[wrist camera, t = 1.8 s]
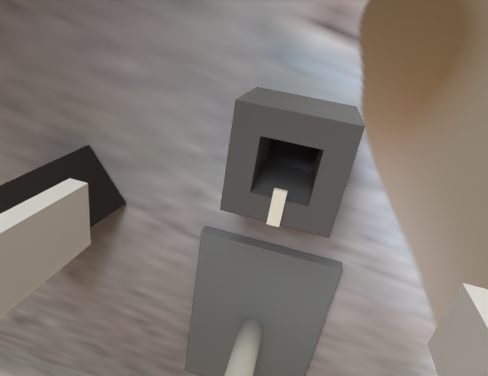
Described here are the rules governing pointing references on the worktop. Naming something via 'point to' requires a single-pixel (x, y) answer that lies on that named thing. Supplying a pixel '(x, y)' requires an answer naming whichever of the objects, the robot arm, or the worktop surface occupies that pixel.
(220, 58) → the worktop surface
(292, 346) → the panel
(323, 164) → the gray square frame
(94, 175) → the phone stand
